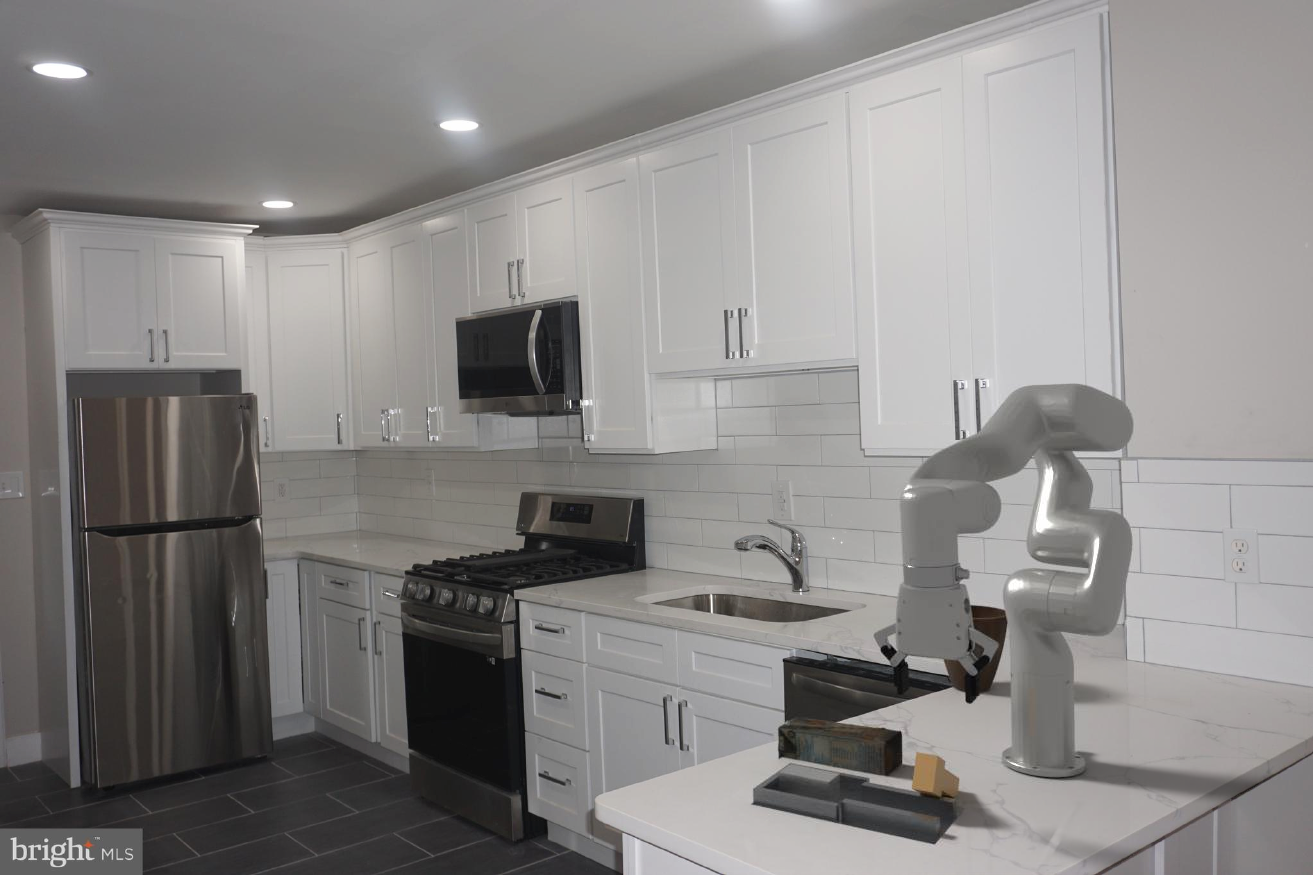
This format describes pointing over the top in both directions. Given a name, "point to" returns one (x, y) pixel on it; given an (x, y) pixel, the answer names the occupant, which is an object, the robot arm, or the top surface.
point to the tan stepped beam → (933, 777)
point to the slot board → (868, 807)
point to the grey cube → (822, 785)
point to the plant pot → (995, 628)
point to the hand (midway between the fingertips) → (936, 696)
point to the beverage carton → (841, 745)
